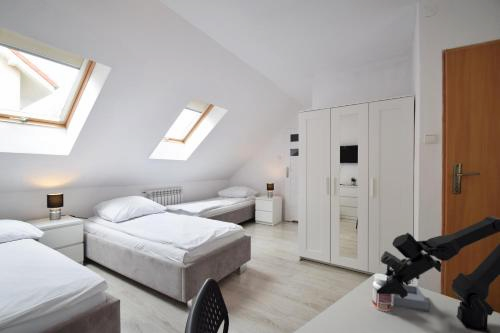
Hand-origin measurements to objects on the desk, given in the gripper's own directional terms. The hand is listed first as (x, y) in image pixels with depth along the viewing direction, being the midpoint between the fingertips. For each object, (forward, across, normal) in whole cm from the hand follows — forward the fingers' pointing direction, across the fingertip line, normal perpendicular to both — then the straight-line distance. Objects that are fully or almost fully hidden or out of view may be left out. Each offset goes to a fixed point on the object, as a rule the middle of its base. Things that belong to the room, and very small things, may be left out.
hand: (377, 288), depth 90 cm
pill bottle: (+4, 0, +6) cm, 7 cm away
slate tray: (-2, -10, +11) cm, 15 cm away
